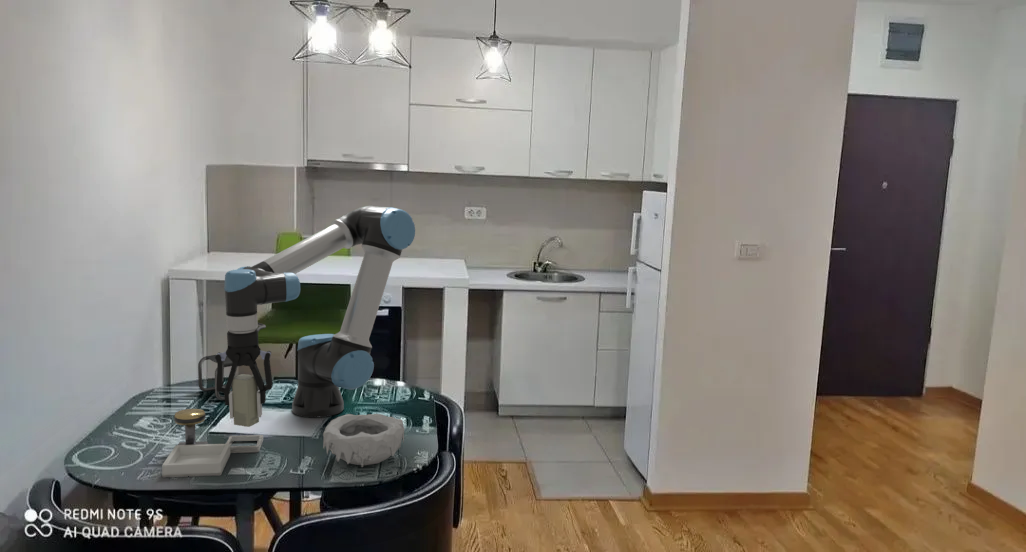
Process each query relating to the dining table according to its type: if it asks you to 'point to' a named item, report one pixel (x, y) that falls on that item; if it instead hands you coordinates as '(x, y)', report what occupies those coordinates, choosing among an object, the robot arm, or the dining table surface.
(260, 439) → the pin seat
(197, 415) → the mounted dome knob
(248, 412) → the box
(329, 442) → the bowl
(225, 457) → the tray
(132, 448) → the dining table surface
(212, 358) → the chair
